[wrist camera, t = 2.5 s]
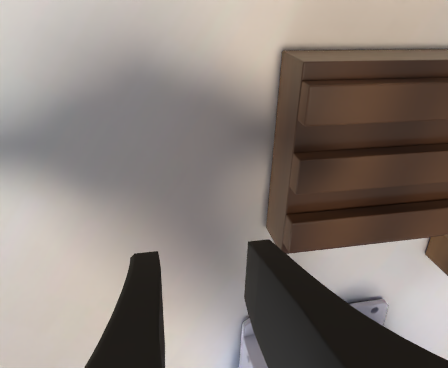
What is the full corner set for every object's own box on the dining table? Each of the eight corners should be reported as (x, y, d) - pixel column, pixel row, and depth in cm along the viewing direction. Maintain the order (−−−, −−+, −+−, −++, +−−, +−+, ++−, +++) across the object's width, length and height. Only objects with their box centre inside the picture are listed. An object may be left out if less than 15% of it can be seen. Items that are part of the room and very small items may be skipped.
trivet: (265, 227, 22) (286, 265, 19) (281, 50, 17) (312, 66, 15) (416, 212, 23) (455, 245, 21) (463, 48, 19) (520, 62, 16)
